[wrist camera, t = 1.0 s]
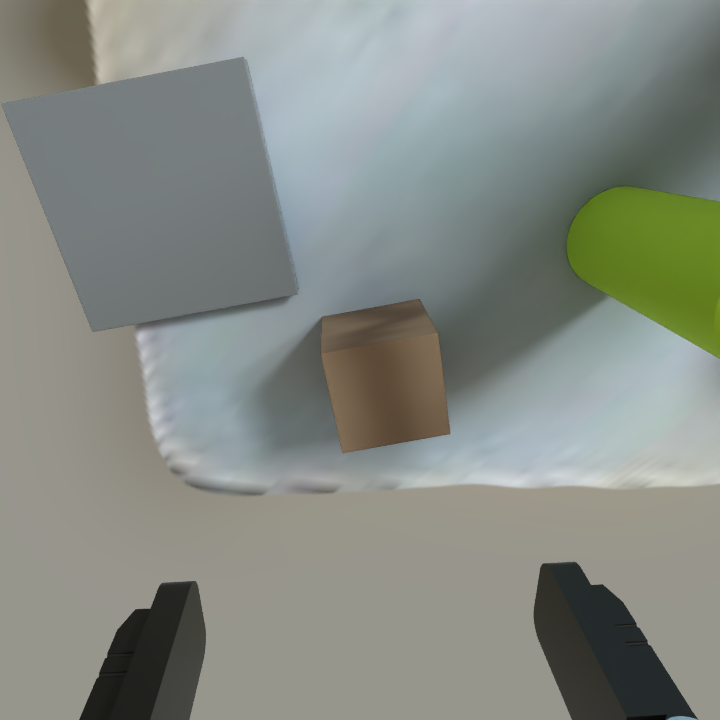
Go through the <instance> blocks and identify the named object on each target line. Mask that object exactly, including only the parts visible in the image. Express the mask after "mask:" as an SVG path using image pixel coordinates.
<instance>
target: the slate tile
mask: <svg viewBox="0 0 720 720" xmlns="http://www.w3.org/2000/svg"><path fill="white" fill-rule="evenodd" d="M1 105H2V107H3V109H4V112H5V115H6V117H7V120H8V122H9V125H10V127H11V130H12V132H13V135H14V137H15V139H16V142H17V145H18V147H19V150H20V152H21V154H22V157H23V160H24V162H25V164H26V167H27V169H28V172H29V174H30V177H31V179H32V182H33V184H34V187H35V189H36V192H37V194H38V197H39V199H40V202H41V204H42V207H43V209H44V212H45V214H46V217H47V219H48V222H49V224H50V227H51V229H52V232H53V234H54V237H55V239H56V242H57V244H58V247H59V249H60V252H61V254H62V257H63V259H64V262H65V264H66V267H67V269H68V272H69V274H70V277H71V279H72V282H73V284H74V286H75V289H76V292H77V294H78V297H79V299H80V301H81V304H82V307H83V309H84V311H85V314H86V317H87V319H88V321H89V324H90V327H91V329H92V332H95V331H101V330H106V329H111V328H117V327H122V326H128V325H134V324H139V323H144V322H150V321H155V320H161V319H166V318H172V317H177V316H182V315H188V314H193V313H199V312H204V311H210V310H215V309H220V308H226V307H231V306H237V305H242V304H248V303H253V302H258V301H264V300H269V299H275V298H280V297H286V296H291V295H296V294H298V289H299V288H298V284H297V279H296V275H295V270H294V266H293V262H292V257H291V253H290V248H289V244H288V240H287V235H286V231H285V226H284V222H283V218H282V213H281V209H280V204H279V200H278V196H277V191H276V187H275V182H274V178H273V173H272V169H271V165H270V160H269V156H268V151H267V147H266V143H265V138H264V134H263V129H262V125H261V121H260V116H259V112H258V107H257V103H256V98H255V94H254V90H253V85H252V81H251V76H250V72H249V68H248V63H247V60H246V59H245V58H244V57H241V58H236V59H231V60H226V61H220V62H215V63H210V64H205V65H200V66H194V67H189V68H184V69H179V70H174V71H168V72H163V73H158V74H153V75H148V76H143V77H137V78H132V79H127V80H122V81H117V82H111V83H106V84H101V85H96V86H91V87H85V88H81V89H75V90H70V91H65V92H59V93H55V94H50V95H44V96H39V97H33V98H28V99H23V100H18V101H13V102H7V103H2V104H1Z"/></svg>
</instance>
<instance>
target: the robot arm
mask: <svg viewBox="0 0 720 720" xmlns="http://www.w3.org/2000/svg"><path fill="white" fill-rule="evenodd" d="M534 624H535V629H536V633H537V636H538V639H539V642H540V644H541V647H542V649H543V652H544V654H545V656H546V659H547V661H548V664H549V666H550V668H551V671H552V673H553V675H554V678H555V680H556V683H557V685H558V687H559V690H560V692H561V694H562V697H563V699H564V702H565V704H566V706H567V708H568V711H569V713H570V716H571V718H572V720H698V719H697V717H696V716H695V714H694V713H693V712H692V710H691V709H690V707H689V705H688V704H687V702H686V701H685V699H684V698H683V696H682V695H681V693H680V692H679V690H678V688H677V687H676V685H675V683H674V682H673V680H672V679H671V677H670V676H669V674H668V672H667V671H666V670H665V668H664V666H663V664H662V663H661V661H660V660H659V658H658V657H657V655H656V654H655V652H654V651H653V649H652V647H651V646H650V645H648V643H647V639H646V638H645V636H644V635H643V633H642V631H641V630H640V628H637V626H636V622H635V620H634V619H633V617H632V616H631V614H630V612H629V611H628V609H627V608H626V606H625V605H624V603H623V602H622V601H621V600H620V599H619V598H617V597H616V596H615V595H614V594H613V593H612V592H610V591H609V590H608V589H607V588H606V587H605V586H604V585H591V584H590V583H589V581H588V579H587V577H586V576H585V574H584V572H583V571H582V569H581V567H580V566H579V565H578V564H577V563H576V562H564V563H544V564H542V566H541V568H540V574H539V580H538V587H537V593H536V599H535V606H534ZM205 645H206V631H205V623H204V618H203V612H202V607H201V601H200V595H199V589H198V585H197V583H196V581H188V582H171V583H170V582H169V583H162V584H161V585H160V586H159V588H158V591H157V593H156V596H155V599H154V601H153V604H152V607H151V609H136V610H135V611H134V612H133V613H132V614H131V615H130V616H129V617H128V619H127V620H126V621H125V622H124V623H123V624H122V625H121V627H120V628H119V629H118V630H117V632H116V634H115V637H114V639H113V642H112V644H111V647H110V649H109V651H108V655H107V658H106V659H105V660H104V663H103V665H102V667H101V670H100V673H99V678H97V679H96V682H95V684H94V686H93V689H92V691H91V693H90V696H89V698H88V700H87V703H86V705H85V707H84V710H83V712H82V715H81V717H80V719H79V720H189V719H190V714H191V710H192V706H193V701H194V697H195V693H196V689H197V685H198V681H199V676H200V672H201V668H202V664H203V659H204V654H205Z"/></svg>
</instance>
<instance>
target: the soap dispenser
mask: <svg viewBox="0 0 720 720" xmlns="http://www.w3.org/2000/svg"><path fill="white" fill-rule="evenodd" d="M567 256H568V260H569V263H570V265H571V267H572V269H573V271H574V272H575V273H576V274H577V276H578V277H580V278H581V279H582V280H583V281H585V282H587V283H588V284H590V285H592V286H594V287H595V288H597V289H599V290H601V291H602V292H604V293H606V294H608V295H609V296H611V297H613V298H615V299H616V300H618V301H620V302H622V303H623V304H625V305H627V306H629V307H630V308H632V309H634V310H636V311H637V312H639V313H641V314H643V315H644V316H646V317H648V318H650V319H651V320H653V321H655V322H657V323H658V324H660V325H662V326H664V327H665V328H667V329H669V330H671V331H672V332H674V333H676V334H678V335H679V336H681V337H683V338H685V339H686V340H688V341H690V342H692V343H693V344H695V345H697V346H699V347H700V348H702V349H704V350H706V351H707V352H709V353H711V354H713V355H714V356H716V357H718V358H720V202H719V201H713V200H708V199H702V198H696V197H690V196H684V195H678V194H672V193H666V192H661V191H655V190H649V189H643V188H637V187H630V186H622V187H615V188H611V189H608V190H606V191H604V192H602V193H600V194H598V195H596V196H595V197H593V198H592V199H591V200H589V201H588V202H587V203H586V204H585V205H584V206H583V207H582V208H581V210H580V211H579V212H578V214H577V215H576V217H575V218H574V220H573V222H572V224H571V227H570V229H569V233H568V237H567Z"/></svg>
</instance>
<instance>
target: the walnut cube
mask: <svg viewBox="0 0 720 720" xmlns="http://www.w3.org/2000/svg"><path fill="white" fill-rule="evenodd" d="M321 358H322V362H323V367H324V371H325V376H326V380H327V385H328V390H329V394H330V399H331V403H332V408H333V412H334V417H335V421H336V426H337V430H338V435H339V439H340V444H341V448H342V453H346V452H352V451H358V450H363V449H369V448H374V447H380V446H386V445H391V444H397V443H402V442H408V441H413V440H419V439H425V438H430V437H436V436H441V435H447V434H450V427H449V419H448V411H447V402H446V394H445V386H444V378H443V370H442V362H441V353H440V345H439V337H438V332H437V330H436V328H435V326H434V325H433V323H432V321H431V319H430V317H429V316H428V314H427V312H426V310H425V308H424V307H423V305H422V303H421V301H420V299H417V300H412V301H406V302H401V303H395V304H390V305H385V306H379V307H374V308H368V309H363V310H357V311H352V312H346V313H341V314H335V315H330V316H325V317H322V330H321Z"/></svg>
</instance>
